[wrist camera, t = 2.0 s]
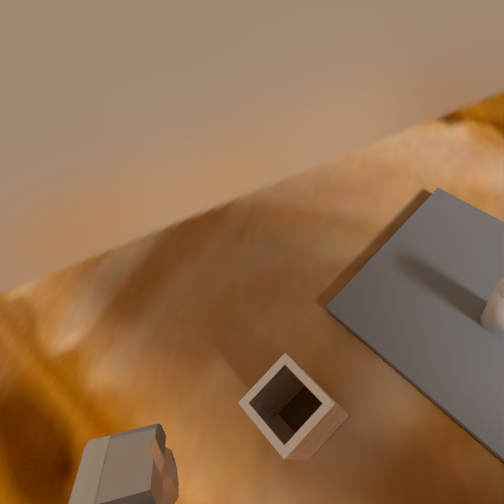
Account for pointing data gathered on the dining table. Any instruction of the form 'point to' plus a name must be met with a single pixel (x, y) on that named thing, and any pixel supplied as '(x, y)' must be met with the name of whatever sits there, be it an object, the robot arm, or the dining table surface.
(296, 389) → the steel sleeve
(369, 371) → the dining table surface
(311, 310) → the dining table surface
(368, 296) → the shaft plate
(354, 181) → the dining table surface
